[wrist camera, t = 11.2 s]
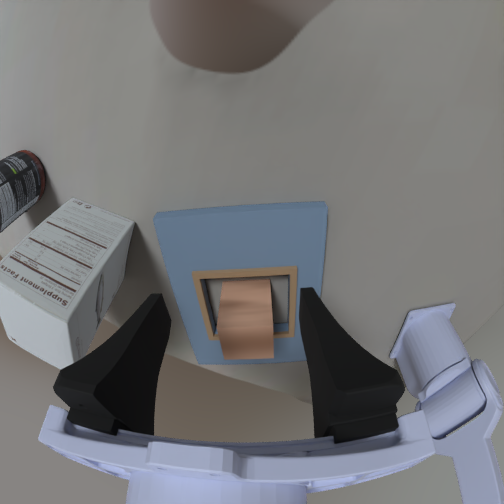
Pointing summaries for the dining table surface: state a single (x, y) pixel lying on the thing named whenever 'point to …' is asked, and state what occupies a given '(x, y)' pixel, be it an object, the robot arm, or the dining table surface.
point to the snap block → (246, 320)
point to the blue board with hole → (242, 264)
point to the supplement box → (63, 281)
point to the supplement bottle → (19, 185)
